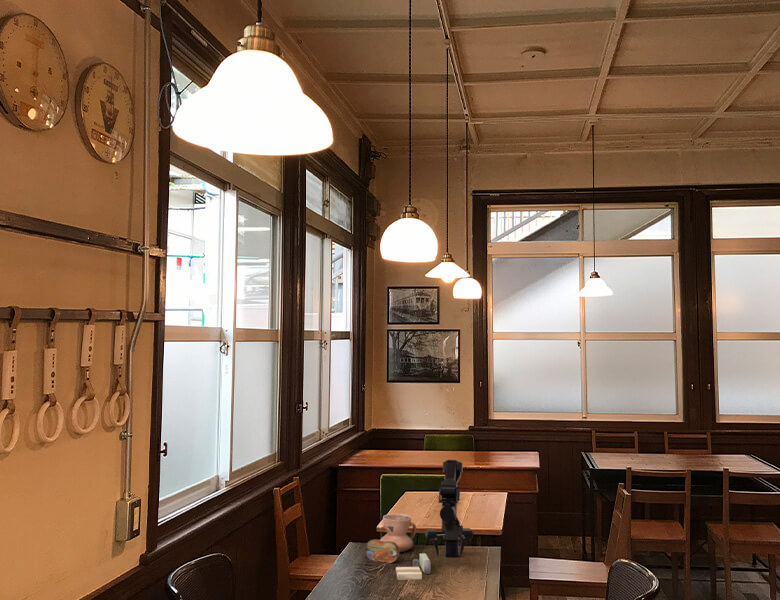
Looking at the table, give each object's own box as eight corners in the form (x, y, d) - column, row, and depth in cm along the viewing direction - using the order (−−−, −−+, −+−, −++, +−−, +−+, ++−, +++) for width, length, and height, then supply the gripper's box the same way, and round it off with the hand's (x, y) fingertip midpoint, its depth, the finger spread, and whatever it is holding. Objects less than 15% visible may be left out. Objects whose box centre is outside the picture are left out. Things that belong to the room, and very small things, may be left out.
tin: (364, 559, 290) (364, 538, 290) (368, 557, 292) (368, 537, 293) (396, 564, 283) (397, 543, 283) (400, 562, 285) (400, 541, 286)
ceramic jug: (384, 556, 294) (385, 522, 295) (371, 547, 307) (372, 514, 308) (423, 552, 301) (424, 519, 302) (409, 543, 314) (409, 511, 315)
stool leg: (431, 573, 270) (431, 562, 270) (424, 573, 270) (424, 562, 270) (425, 563, 283) (425, 552, 283) (419, 563, 283) (419, 552, 283)
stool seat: (395, 572, 272) (395, 567, 273) (418, 571, 273) (418, 566, 273) (398, 579, 264) (398, 574, 264) (421, 579, 264) (421, 573, 265)
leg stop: (412, 566, 280) (412, 559, 280) (417, 566, 280) (417, 559, 280) (413, 568, 278) (413, 560, 278) (418, 568, 278) (418, 560, 278)
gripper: (428, 520, 273) (428, 562, 271) (476, 520, 274) (476, 560, 273) (424, 514, 284) (424, 553, 282) (470, 513, 285) (470, 552, 284)
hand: (449, 555), depth 280 cm, fingers open, 9 cm apart
